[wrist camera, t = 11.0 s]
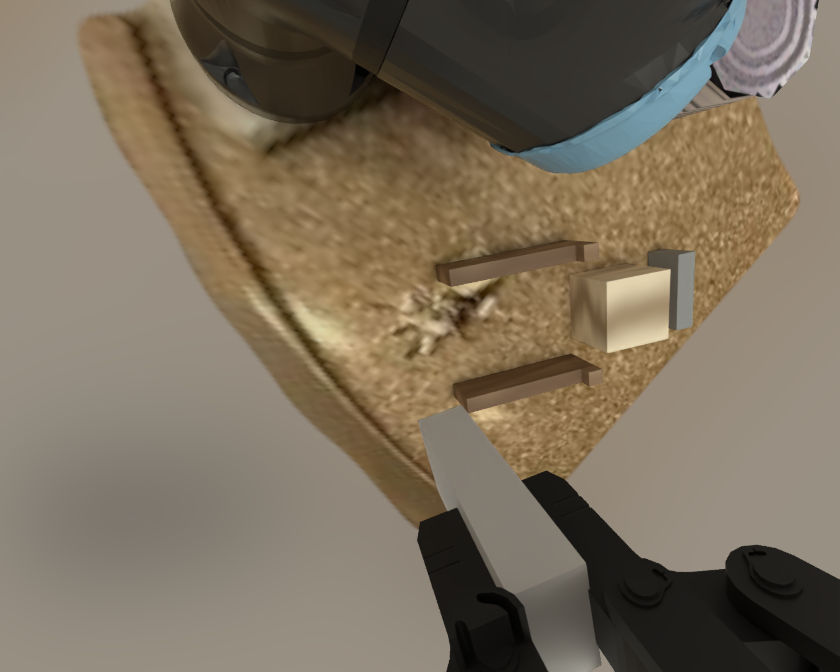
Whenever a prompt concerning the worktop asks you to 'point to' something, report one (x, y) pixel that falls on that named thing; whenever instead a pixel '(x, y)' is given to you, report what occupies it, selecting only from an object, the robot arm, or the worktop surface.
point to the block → (620, 306)
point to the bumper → (677, 284)
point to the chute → (538, 374)
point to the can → (760, 54)
